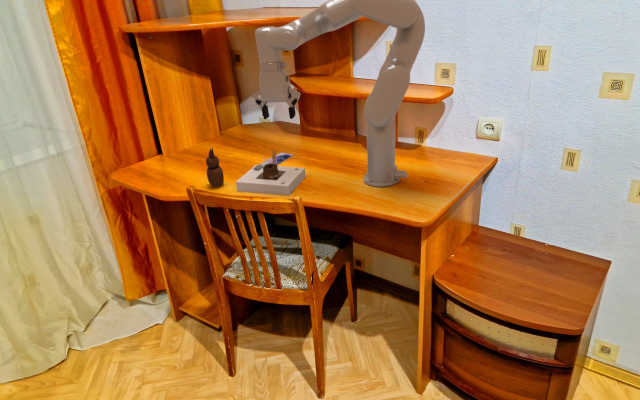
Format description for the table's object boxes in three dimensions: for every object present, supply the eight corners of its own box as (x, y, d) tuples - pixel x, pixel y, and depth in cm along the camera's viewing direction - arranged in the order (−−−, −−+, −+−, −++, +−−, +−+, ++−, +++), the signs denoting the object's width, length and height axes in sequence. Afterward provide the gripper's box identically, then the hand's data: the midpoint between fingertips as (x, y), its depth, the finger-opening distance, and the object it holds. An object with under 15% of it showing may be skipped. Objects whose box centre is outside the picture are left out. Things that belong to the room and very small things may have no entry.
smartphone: (294, 154, 189) (272, 167, 178) (294, 156, 189) (272, 169, 178) (280, 152, 192) (258, 164, 181) (280, 153, 193) (258, 166, 182)
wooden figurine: (226, 187, 164) (218, 148, 158) (209, 190, 163) (202, 151, 156) (224, 180, 170) (217, 142, 164) (208, 183, 169) (200, 145, 162)
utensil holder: (260, 185, 164) (256, 154, 158) (272, 179, 168) (268, 148, 163) (272, 188, 160) (268, 156, 155) (284, 182, 165) (280, 151, 160)
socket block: (305, 176, 168) (304, 166, 166) (289, 195, 154) (287, 183, 152) (257, 173, 174) (255, 162, 172) (237, 190, 161) (235, 179, 159)
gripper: (300, 63, 149) (306, 114, 156) (253, 66, 154) (261, 115, 162) (292, 68, 142) (299, 121, 150) (243, 70, 148) (252, 121, 155)
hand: (279, 118), depth 156 cm, fingers open, 9 cm apart
